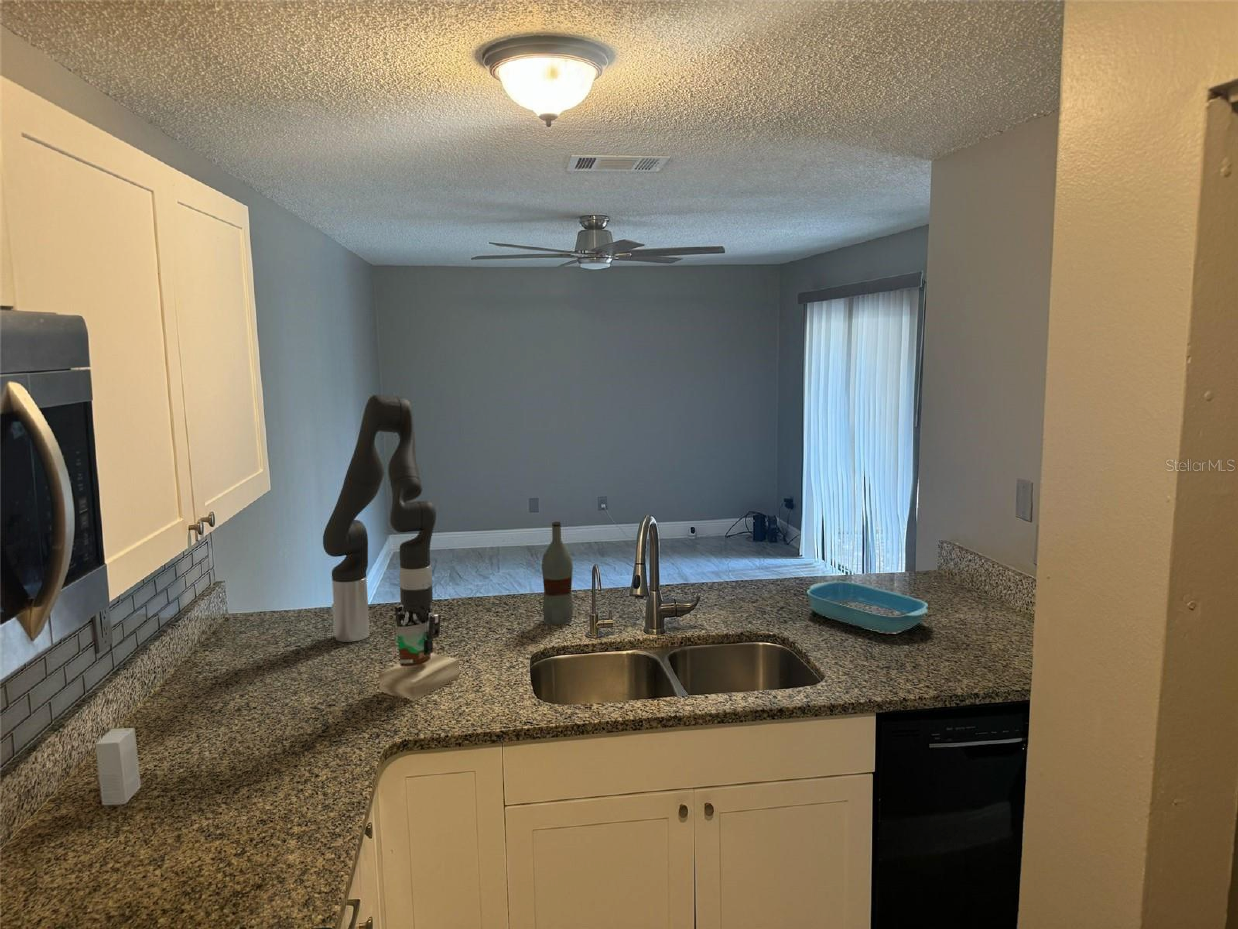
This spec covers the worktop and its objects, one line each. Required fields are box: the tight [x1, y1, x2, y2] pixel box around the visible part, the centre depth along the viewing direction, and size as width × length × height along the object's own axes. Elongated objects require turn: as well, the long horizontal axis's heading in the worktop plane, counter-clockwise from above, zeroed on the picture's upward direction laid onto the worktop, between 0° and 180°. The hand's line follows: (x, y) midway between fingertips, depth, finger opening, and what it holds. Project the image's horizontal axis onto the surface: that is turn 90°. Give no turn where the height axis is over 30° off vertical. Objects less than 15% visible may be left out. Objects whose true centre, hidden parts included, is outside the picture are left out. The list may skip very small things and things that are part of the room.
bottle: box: [541, 521, 574, 626], centre depth 247 cm, size 9×9×30 cm
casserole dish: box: [806, 581, 929, 632], centre depth 249 cm, size 37×22×7 cm, turn 41°
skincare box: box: [94, 727, 142, 806], centre depth 153 cm, size 6×4×12 cm
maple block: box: [378, 652, 460, 702], centre depth 203 cm, size 11×16×5 cm
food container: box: [395, 622, 431, 666], centre depth 201 cm, size 12×6×10 cm, turn 167°
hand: (418, 650), depth 202 cm, fingers closed on food container, 6 cm apart
